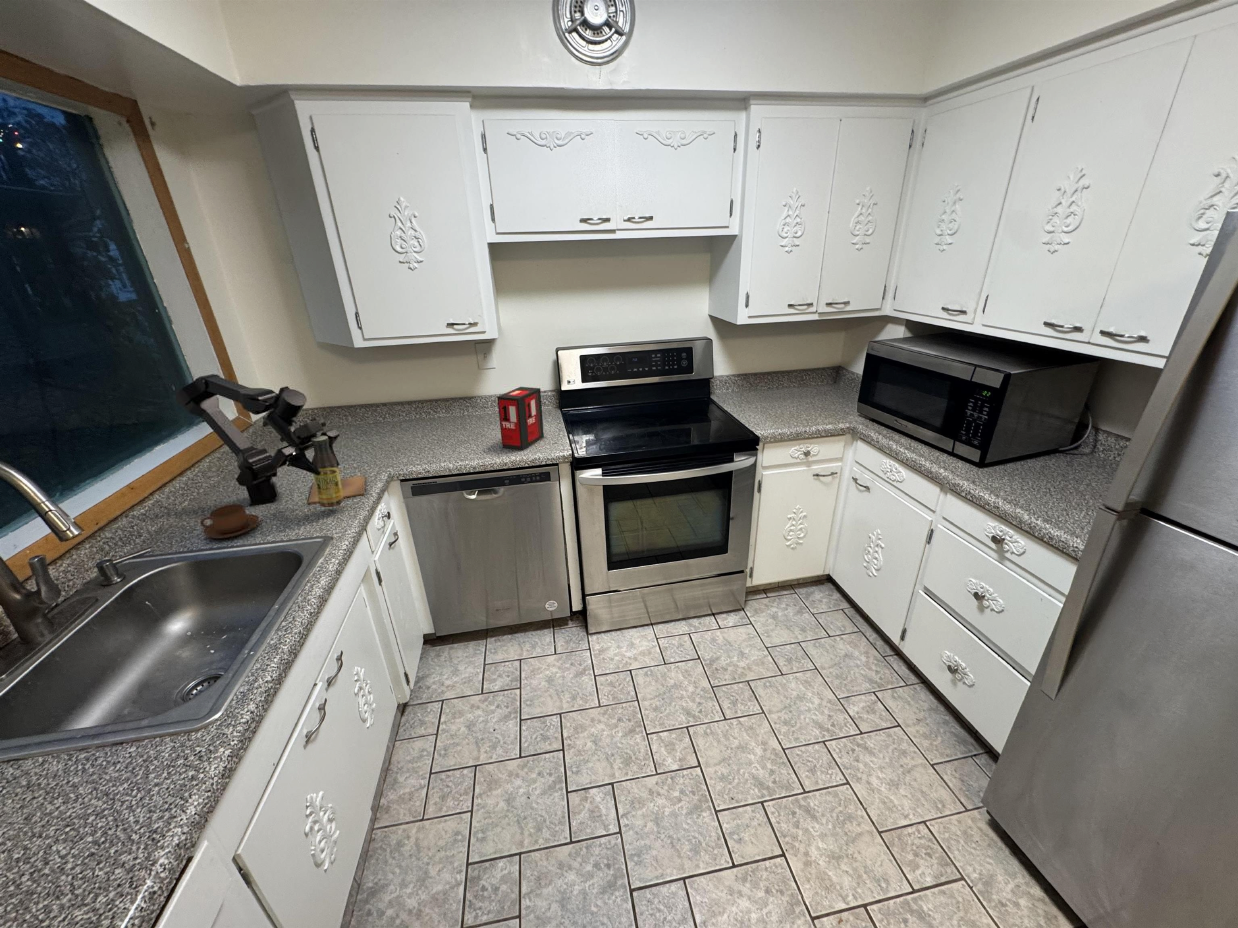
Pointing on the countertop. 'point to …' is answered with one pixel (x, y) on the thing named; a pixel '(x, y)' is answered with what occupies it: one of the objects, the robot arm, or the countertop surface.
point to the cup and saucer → (229, 521)
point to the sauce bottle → (326, 474)
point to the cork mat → (344, 488)
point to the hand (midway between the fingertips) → (329, 470)
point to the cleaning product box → (520, 417)
